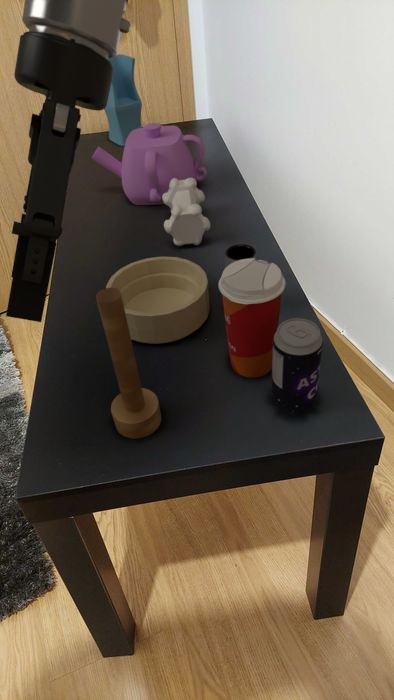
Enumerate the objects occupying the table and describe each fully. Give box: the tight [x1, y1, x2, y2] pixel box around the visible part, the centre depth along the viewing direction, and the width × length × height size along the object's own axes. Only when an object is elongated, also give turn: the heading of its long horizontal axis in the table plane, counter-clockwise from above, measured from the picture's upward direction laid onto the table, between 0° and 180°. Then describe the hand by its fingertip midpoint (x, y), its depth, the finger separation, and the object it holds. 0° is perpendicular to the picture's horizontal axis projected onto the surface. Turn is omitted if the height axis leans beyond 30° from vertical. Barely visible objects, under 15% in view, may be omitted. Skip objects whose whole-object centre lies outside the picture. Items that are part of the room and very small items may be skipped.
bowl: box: [105, 256, 211, 345], centre depth 80 cm, size 16×16×6 cm
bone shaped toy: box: [162, 178, 211, 247], centre depth 99 cm, size 15×9×8 cm, turn 5°
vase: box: [103, 53, 143, 147], centre depth 136 cm, size 8×8×20 cm
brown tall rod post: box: [95, 287, 162, 440], centre depth 59 cm, size 6×6×20 cm
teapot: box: [91, 122, 208, 206], centre depth 111 cm, size 19×21×14 cm
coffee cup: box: [218, 258, 286, 378], centre depth 67 cm, size 8×8×15 cm
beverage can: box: [271, 317, 324, 415], centre depth 62 cm, size 6×6×12 cm
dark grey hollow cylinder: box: [224, 243, 257, 268], centre depth 78 cm, size 4×4×10 cm
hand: (24, 296), depth 47 cm, fingers open, 13 cm apart
